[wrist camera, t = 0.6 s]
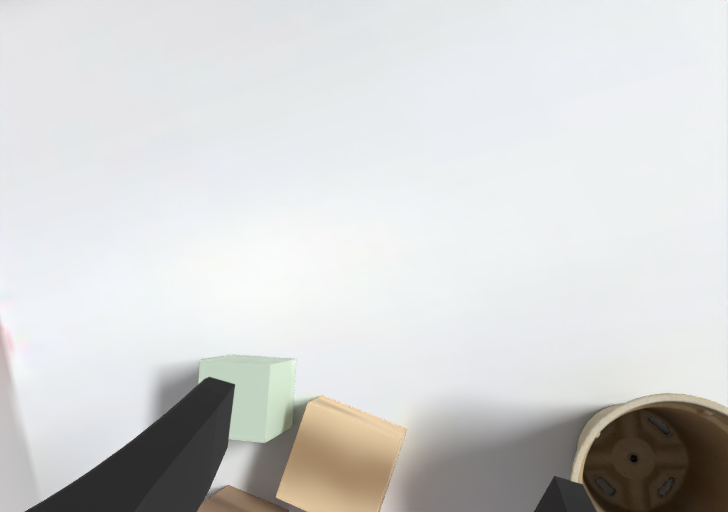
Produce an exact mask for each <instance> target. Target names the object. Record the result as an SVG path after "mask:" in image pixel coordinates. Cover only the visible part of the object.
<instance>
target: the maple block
mask: <svg viewBox="0 0 728 512" xmlns="http://www.w3.org/2000/svg"><path fill="white" fill-rule="evenodd" d="M406 431H407V429H406V428H404V427H401V426H399V425H396V424H394V423H391V422H388V421H386V420H383V419H381V418H378V417H376V416H373V415H371V414H368V413H366V412H363V411H361V410H358V409H356V408H353V407H351V406H348V405H345V404H343V403H340V402H338V401H335V400H333V399H330V398H328V397H325V396H323V395H322V396H320V397H318V398H316V399H314V400H312V401H310V402H308V403H307V406H306V409H305V412H304V415H303V418H302V421H301V424H300V427H299V430H298V433H297V436H296V439H295V442H294V444H293V447H292V450H291V453H290V456H289V459H288V462H287V465H286V468H285V471H284V474H283V477H282V480H281V483H280V486H279V489H278V491H277V494H276V498H278V499H280V500H282V501H285V502H287V503H289V504H291V505H293V506H296V507H298V508H300V509H302V510H305V511H307V512H380V509H381V506H382V503H383V500H384V497H385V494H386V491H387V488H388V485H389V482H390V479H391V476H392V473H393V470H394V467H395V464H396V461H397V458H398V455H399V452H400V449H401V446H402V443H403V440H404V437H405V434H406Z"/></svg>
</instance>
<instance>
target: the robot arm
mask: <svg viewBox="0 0 728 512" xmlns="http://www.w3.org/2000/svg"><path fill="white" fill-rule="evenodd" d="M234 390H235V384H233V383H230V382H226V381H223V380H219V379H216V378H212V377H208V378H205V379H204V380H203V381H202V382H200V383H199V384H198V385H197V386H196V387H195V388H194V389H193V390H192V391H191V392H190V393H189V394H187V395H186V396H185V397H184V398H183V399H182V400H181V401H180V402H178V403H177V404H176V405H175V406H174V407H173V408H171V409H170V410H169V411H168V412H167V413H166V414H164V415H163V416H162V417H161V418H160V419H158V420H157V421H156V422H155V423H153V424H152V425H151V426H150V427H148V428H147V429H146V430H145V431H143V432H142V433H141V434H140V435H138V436H137V437H136V438H135V439H133V440H132V441H131V442H129V443H128V444H127V445H125V446H124V447H123V448H121V449H120V450H119V451H117V452H116V453H114V454H113V455H112V456H110V457H109V458H107V459H106V460H105V461H103V462H102V463H101V464H99V465H98V466H96V467H95V468H94V469H92V470H91V471H89V472H88V473H86V474H85V475H83V476H82V477H80V478H79V479H77V480H76V481H74V482H73V483H71V484H70V485H68V486H67V487H65V488H63V489H62V490H60V491H58V492H57V493H55V494H54V495H52V496H50V497H49V498H47V499H46V500H44V501H42V502H41V503H39V504H37V505H35V506H34V507H32V508H30V509H28V510H27V511H25V512H197V511H198V509H199V507H200V505H201V504H202V502H203V500H204V498H205V496H206V495H207V493H208V491H209V489H210V487H211V484H212V482H213V480H214V477H215V475H216V473H217V471H218V468H219V466H220V463H221V461H222V459H223V456H224V454H225V452H226V449H227V447H228V439H229V431H230V423H231V415H232V407H233V398H234ZM534 512H597V511H596V509H595V507H594V505H593V503H592V501H591V499H590V497H589V495H588V494H587V492H586V490H585V488H584V486H583V484H580V483H577V482H573V481H570V480H566V479H563V478H559V477H556V476H554V478H553V480H552V481H551V483H550V485H549V487H548V488H547V490H546V492H545V494H544V495H543V497H542V499H541V500H540V502H539V504H538V506H537V507H536V509H535V511H534Z"/></svg>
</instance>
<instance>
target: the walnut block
mask: <svg viewBox="0 0 728 512" xmlns="http://www.w3.org/2000/svg"><path fill="white" fill-rule="evenodd" d="M288 511H289V510H286V509H284V508H282V507H279V506H277V505H274V504H272V503H270V502H267V501H265V500H263V499H260V498H258V497H256V496H253V495H251V494H249V493H246V492H244V491H241V490H239V489H237V488H234V487H232V486H230V485H228V486H226V487H225V488H223V489H222V490H220V491H219V492H217V493H216V494H214V495H213V496H212V497H210V498H209V499H207V500H206V501H204V502H203V503H202V504H201V505H200V507H199V509H198V511H197V512H288Z"/></svg>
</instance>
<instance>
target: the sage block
mask: <svg viewBox="0 0 728 512" xmlns="http://www.w3.org/2000/svg"><path fill="white" fill-rule="evenodd" d="M295 372H296V359H291V358H277V357H262V356H248V355H228V356H221V357H215V358H208V359H201V360H200V367H199V379H198V384H199V383H200V382H202V381H203V380H204V379H205V378H208V377H212V378H216V379H219V380H223V381H226V382H230V383H233V384H235V390H234V398H233V407H232V415H231V423H230V431H229V439H231V440H240V441H250V442H260V443H266V442H268V441H269V440H271V439H273V438H274V437H276V436H278V435H279V434H281V433H283V432H284V431H286V430H288V429H290V428H291V427H292V421H293V405H294V389H295Z"/></svg>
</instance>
